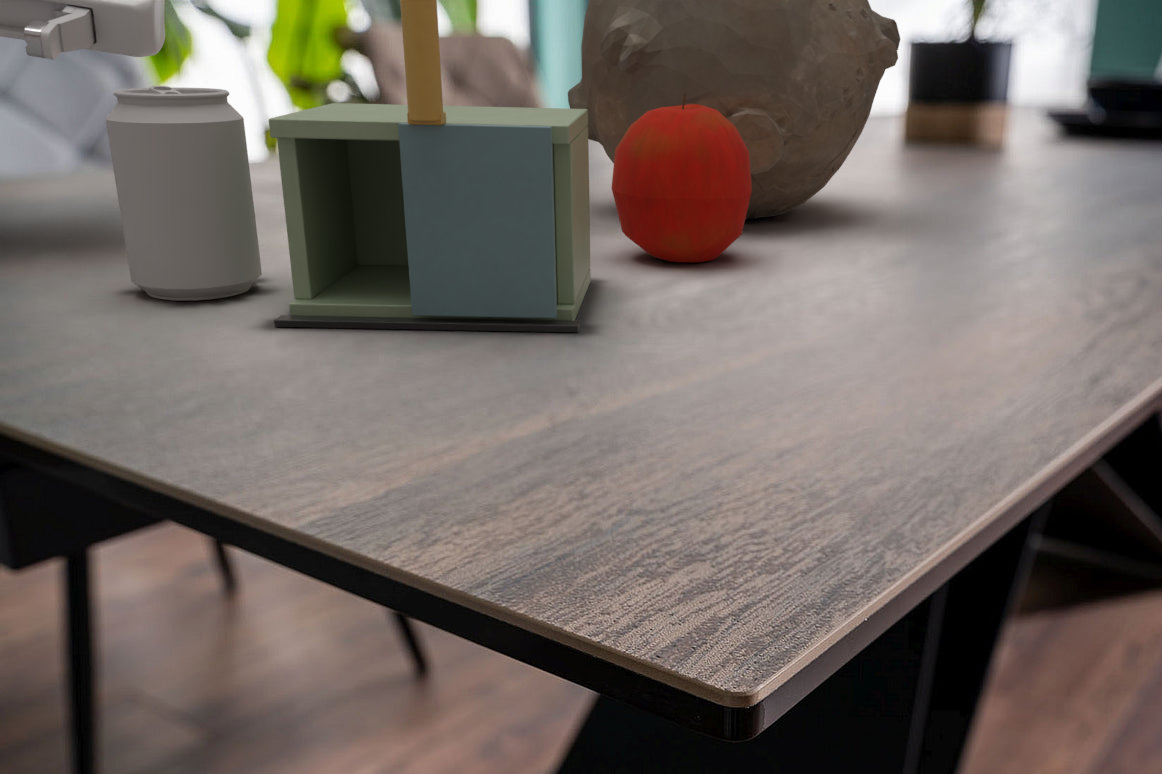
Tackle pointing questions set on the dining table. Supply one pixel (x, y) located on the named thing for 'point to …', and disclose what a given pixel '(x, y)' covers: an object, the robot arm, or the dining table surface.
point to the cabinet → (403, 216)
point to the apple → (682, 183)
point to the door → (471, 198)
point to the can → (184, 192)
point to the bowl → (742, 79)
